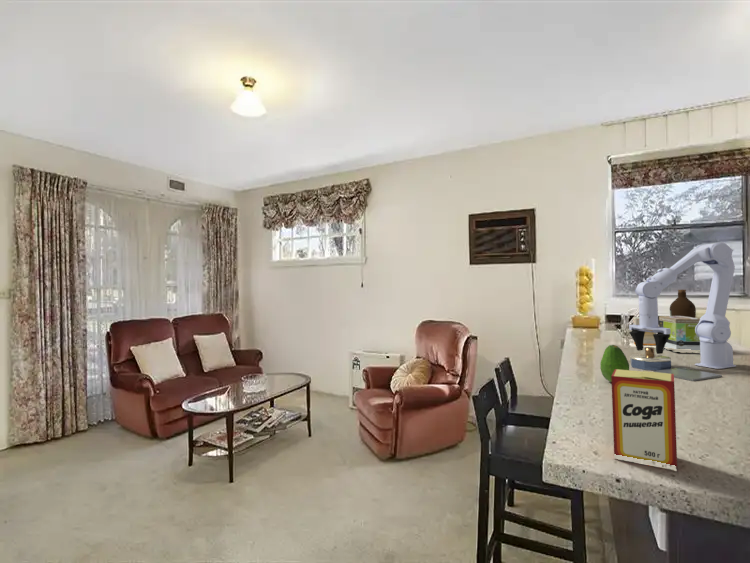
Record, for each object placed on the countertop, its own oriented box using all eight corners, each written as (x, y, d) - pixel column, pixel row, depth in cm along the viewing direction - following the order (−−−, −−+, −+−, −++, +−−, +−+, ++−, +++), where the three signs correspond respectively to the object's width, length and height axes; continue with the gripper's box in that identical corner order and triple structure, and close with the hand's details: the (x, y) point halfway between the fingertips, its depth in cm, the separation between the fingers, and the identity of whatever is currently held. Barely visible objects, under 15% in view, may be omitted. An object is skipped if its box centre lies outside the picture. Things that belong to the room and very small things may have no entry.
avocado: (601, 384, 128) (600, 346, 128) (600, 378, 135) (598, 342, 135) (631, 386, 124) (630, 347, 124) (628, 380, 131) (626, 343, 131)
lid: (646, 355, 157) (646, 344, 157) (679, 361, 145) (679, 348, 145) (622, 358, 153) (621, 346, 153) (653, 364, 141) (653, 351, 141)
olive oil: (699, 338, 206) (698, 289, 206) (693, 341, 199) (691, 290, 199) (674, 336, 214) (673, 289, 214) (667, 339, 208) (665, 290, 208)
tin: (647, 362, 156) (646, 354, 156) (678, 368, 145) (678, 359, 145) (623, 365, 153) (623, 357, 153) (653, 371, 141) (653, 363, 141)
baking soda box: (614, 459, 76) (611, 373, 76) (617, 447, 81) (614, 367, 81) (677, 471, 71) (674, 379, 71) (676, 457, 76) (673, 372, 76)
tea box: (703, 353, 169) (702, 318, 169) (676, 354, 171) (674, 318, 171) (683, 347, 183) (682, 315, 183) (658, 347, 185) (657, 315, 185)
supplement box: (653, 344, 196) (652, 316, 196) (656, 345, 191) (655, 317, 191) (633, 343, 198) (632, 316, 198) (636, 345, 194) (635, 317, 194)
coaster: (680, 369, 144) (680, 367, 144) (721, 376, 132) (721, 375, 132) (653, 372, 140) (653, 371, 140) (693, 381, 128) (693, 379, 128)
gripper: (622, 313, 155) (623, 349, 155) (659, 316, 141) (660, 356, 141) (636, 312, 157) (637, 348, 157) (674, 315, 143) (675, 354, 143)
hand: (649, 351), depth 149 cm, fingers open, 7 cm apart
